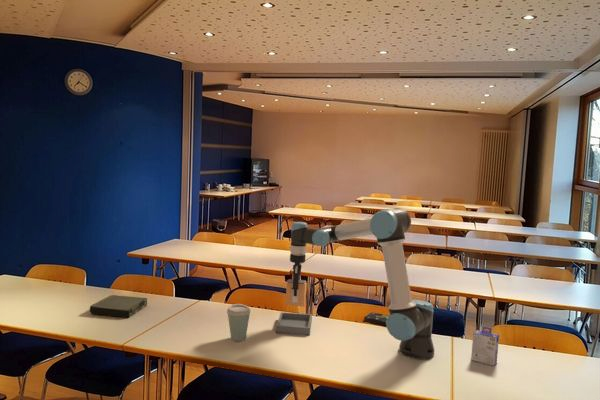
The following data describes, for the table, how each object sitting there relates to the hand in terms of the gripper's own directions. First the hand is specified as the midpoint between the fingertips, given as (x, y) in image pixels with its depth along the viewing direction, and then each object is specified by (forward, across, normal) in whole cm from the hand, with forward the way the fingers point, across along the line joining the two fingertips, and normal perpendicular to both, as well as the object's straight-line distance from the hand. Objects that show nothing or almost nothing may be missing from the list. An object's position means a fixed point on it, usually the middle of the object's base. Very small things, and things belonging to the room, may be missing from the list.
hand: (295, 300), depth 237 cm
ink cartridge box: (+13, +25, +84) cm, 89 cm away
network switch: (+15, -6, -92) cm, 93 cm away
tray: (+13, 0, 0) cm, 13 cm away
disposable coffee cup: (+14, +21, -24) cm, 35 cm away
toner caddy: (+2, 0, 0) cm, 2 cm away
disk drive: (+14, -17, +44) cm, 49 cm away
